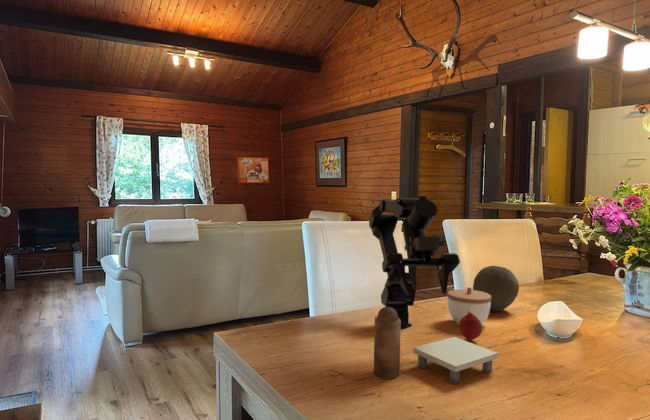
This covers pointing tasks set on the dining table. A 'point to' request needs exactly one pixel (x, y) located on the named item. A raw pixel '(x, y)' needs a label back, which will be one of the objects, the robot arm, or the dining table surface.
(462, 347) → the shelf
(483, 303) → the lidded bowl
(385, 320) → the mill
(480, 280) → the grey sphere
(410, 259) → the robot arm
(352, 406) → the dining table surface
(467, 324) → the onion
